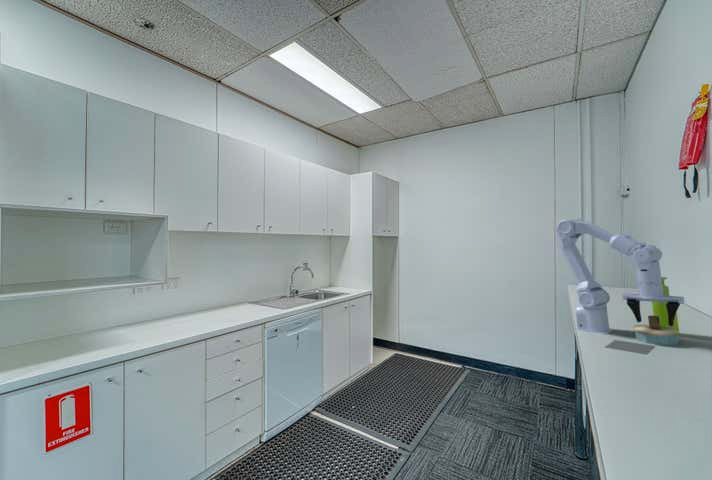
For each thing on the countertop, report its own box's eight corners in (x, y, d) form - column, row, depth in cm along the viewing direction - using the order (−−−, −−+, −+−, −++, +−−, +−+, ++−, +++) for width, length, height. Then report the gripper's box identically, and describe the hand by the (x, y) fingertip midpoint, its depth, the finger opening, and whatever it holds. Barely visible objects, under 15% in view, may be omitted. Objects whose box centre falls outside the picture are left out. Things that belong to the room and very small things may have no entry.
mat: (604, 348, 97) (604, 347, 97) (615, 341, 103) (615, 339, 103) (646, 355, 89) (646, 354, 89) (655, 347, 95) (655, 346, 95)
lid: (629, 331, 101) (627, 317, 101) (639, 325, 106) (637, 311, 107) (673, 337, 92) (671, 321, 92) (682, 330, 98) (680, 315, 98)
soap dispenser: (665, 330, 109) (659, 275, 110) (684, 335, 102) (677, 276, 103) (648, 331, 110) (641, 276, 111) (665, 336, 103) (658, 278, 104)
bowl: (632, 342, 101) (631, 331, 101) (641, 335, 106) (640, 325, 106) (674, 348, 93) (673, 336, 93) (681, 340, 98) (680, 330, 98)
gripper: (617, 283, 104) (622, 322, 103) (678, 284, 92) (684, 329, 91) (624, 280, 108) (629, 318, 107) (683, 281, 96) (688, 324, 95)
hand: (654, 323), depth 100 cm, fingers open, 7 cm apart
